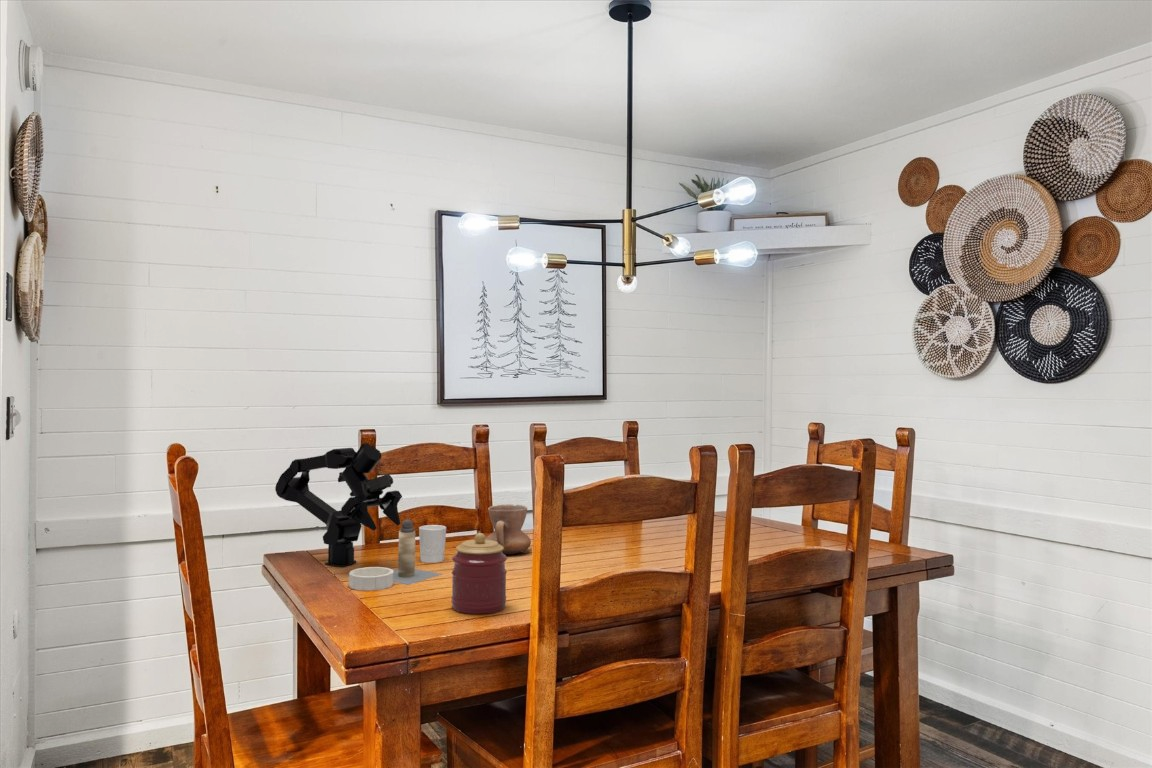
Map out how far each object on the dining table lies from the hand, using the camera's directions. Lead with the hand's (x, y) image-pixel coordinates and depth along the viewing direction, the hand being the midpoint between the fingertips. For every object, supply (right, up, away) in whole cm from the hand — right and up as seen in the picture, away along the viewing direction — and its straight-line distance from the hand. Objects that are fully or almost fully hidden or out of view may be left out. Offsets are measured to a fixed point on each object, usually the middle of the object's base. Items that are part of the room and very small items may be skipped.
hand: (387, 526), depth 221 cm
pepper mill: (+6, -13, -4) cm, 14 cm away
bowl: (-1, -13, -14) cm, 19 cm away
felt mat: (+6, -13, -4) cm, 15 cm away
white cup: (+10, -13, +15) cm, 22 cm away
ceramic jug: (+31, -13, +29) cm, 44 cm away
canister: (+29, -14, -31) cm, 45 cm away
